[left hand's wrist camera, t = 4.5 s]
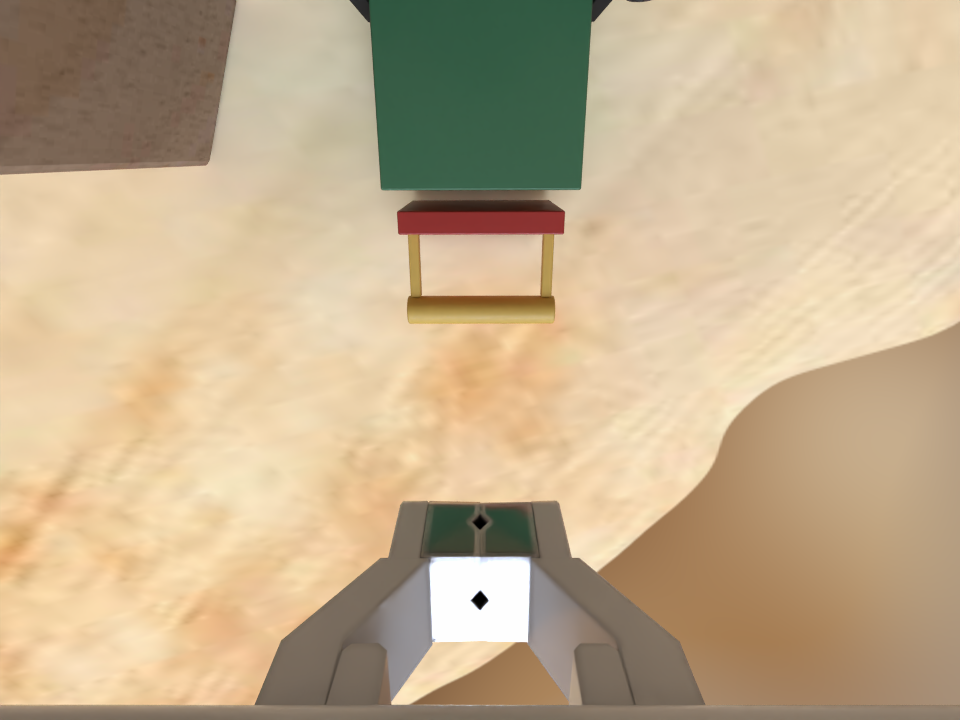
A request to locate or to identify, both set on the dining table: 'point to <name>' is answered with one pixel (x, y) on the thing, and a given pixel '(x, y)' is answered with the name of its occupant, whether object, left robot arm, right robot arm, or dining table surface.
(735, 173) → the dining table surface
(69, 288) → the dining table surface
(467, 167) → the cabinet
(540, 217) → the drawer
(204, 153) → the wooden block
